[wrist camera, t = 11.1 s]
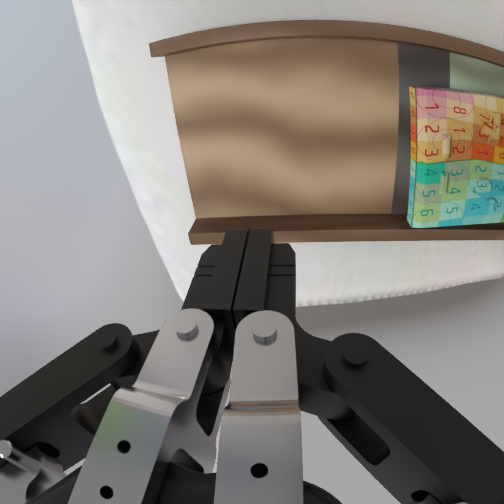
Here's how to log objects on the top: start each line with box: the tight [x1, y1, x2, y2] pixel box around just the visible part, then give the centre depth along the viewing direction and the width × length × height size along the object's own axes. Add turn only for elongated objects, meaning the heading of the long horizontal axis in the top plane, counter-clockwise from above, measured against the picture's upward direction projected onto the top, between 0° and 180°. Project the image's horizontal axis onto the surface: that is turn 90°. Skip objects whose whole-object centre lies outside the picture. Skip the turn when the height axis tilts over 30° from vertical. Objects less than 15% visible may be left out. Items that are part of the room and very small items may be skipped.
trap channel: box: [149, 20, 504, 245], centre depth 21 cm, size 18×40×3 cm, turn 96°
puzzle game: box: [407, 86, 504, 228], centre depth 19 cm, size 12×5×20 cm
